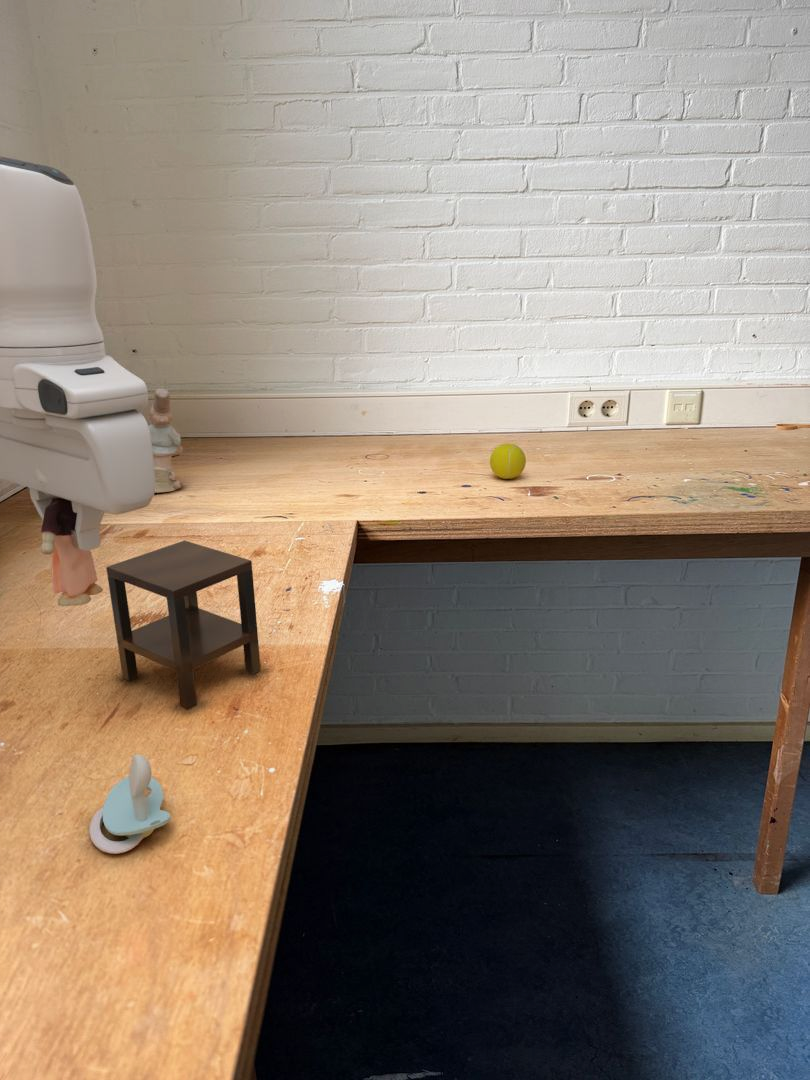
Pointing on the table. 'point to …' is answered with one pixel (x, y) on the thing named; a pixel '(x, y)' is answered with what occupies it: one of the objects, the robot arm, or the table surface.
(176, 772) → the table surface
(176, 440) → the figurine
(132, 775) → the pacifier
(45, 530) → the grandmother figurine
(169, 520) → the table surface
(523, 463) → the tennis ball
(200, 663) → the rack
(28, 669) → the table surface
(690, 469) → the table surface
